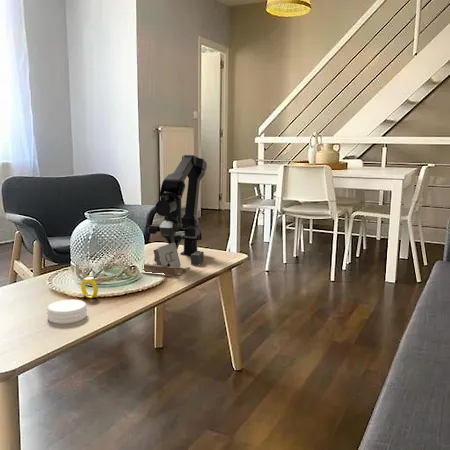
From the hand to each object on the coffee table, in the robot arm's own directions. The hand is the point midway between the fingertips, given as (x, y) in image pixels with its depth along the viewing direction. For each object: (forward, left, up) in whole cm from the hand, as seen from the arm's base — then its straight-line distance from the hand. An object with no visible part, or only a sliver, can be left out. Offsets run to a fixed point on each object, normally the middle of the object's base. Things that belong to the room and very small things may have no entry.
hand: (174, 252), depth 182 cm
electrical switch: (+7, 0, -5) cm, 8 cm away
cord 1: (-6, -8, -5) cm, 11 cm away
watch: (+42, -10, -5) cm, 44 cm away
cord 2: (-6, +7, -5) cm, 10 cm away
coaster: (+58, -7, -5) cm, 59 cm away
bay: (+7, 0, -5) cm, 9 cm away
